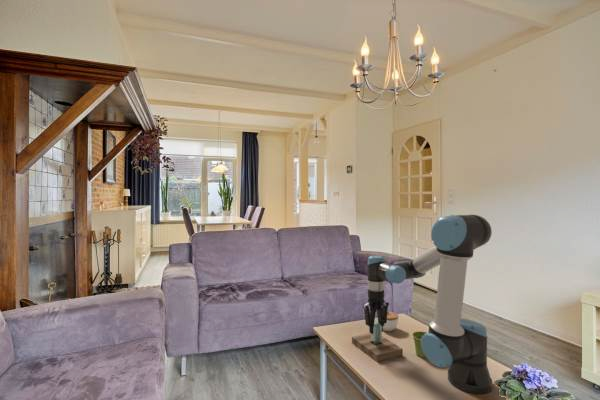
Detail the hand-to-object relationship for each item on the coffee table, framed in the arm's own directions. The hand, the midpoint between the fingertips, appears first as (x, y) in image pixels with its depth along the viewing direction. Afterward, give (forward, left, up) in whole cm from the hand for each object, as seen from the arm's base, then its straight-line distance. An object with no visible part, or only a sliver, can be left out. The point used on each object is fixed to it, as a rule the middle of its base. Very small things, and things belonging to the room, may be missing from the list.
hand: (376, 339), depth 152 cm
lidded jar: (+17, -20, -5) cm, 27 cm away
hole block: (0, 0, -5) cm, 5 cm away
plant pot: (-13, -16, -5) cm, 21 cm away
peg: (0, 0, -3) cm, 3 cm away
